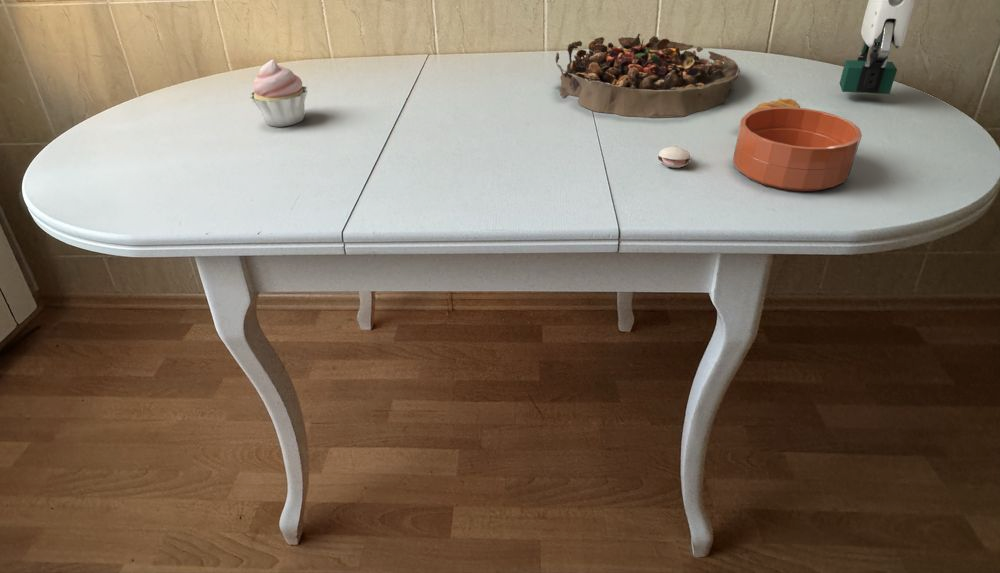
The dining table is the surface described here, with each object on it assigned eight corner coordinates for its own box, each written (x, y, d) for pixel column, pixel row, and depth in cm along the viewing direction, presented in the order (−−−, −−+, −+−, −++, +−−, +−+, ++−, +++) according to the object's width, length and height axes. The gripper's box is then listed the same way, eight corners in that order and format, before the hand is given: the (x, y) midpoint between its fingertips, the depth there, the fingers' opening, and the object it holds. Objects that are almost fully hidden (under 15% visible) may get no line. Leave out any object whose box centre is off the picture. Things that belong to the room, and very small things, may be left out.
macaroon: (656, 169, 85) (658, 152, 84) (658, 154, 89) (660, 138, 88) (688, 172, 84) (691, 155, 83) (689, 157, 88) (692, 140, 86)
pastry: (762, 141, 92) (767, 116, 89) (727, 127, 97) (732, 103, 94) (805, 128, 95) (811, 103, 93) (770, 115, 100) (775, 91, 98)
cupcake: (321, 122, 103) (308, 61, 98) (264, 135, 100) (247, 72, 94) (305, 107, 110) (292, 48, 104) (251, 118, 106) (235, 58, 100)
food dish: (580, 56, 134) (582, 17, 129) (740, 71, 124) (749, 30, 119) (526, 104, 107) (527, 57, 102) (726, 128, 97) (737, 77, 92)
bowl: (841, 153, 87) (854, 111, 84) (853, 199, 76) (868, 154, 73) (733, 143, 91) (741, 103, 88) (730, 186, 80) (739, 142, 77)
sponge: (885, 86, 105) (892, 61, 102) (889, 94, 101) (897, 69, 99) (839, 83, 106) (845, 59, 104) (842, 91, 103) (848, 67, 101)
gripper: (941, -27, 86) (898, 104, 96) (916, -44, 99) (881, 73, 109) (880, -27, 88) (845, 101, 98) (864, -44, 101) (834, 71, 111)
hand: (864, 85), depth 103 cm, fingers closed on sponge, 4 cm apart
